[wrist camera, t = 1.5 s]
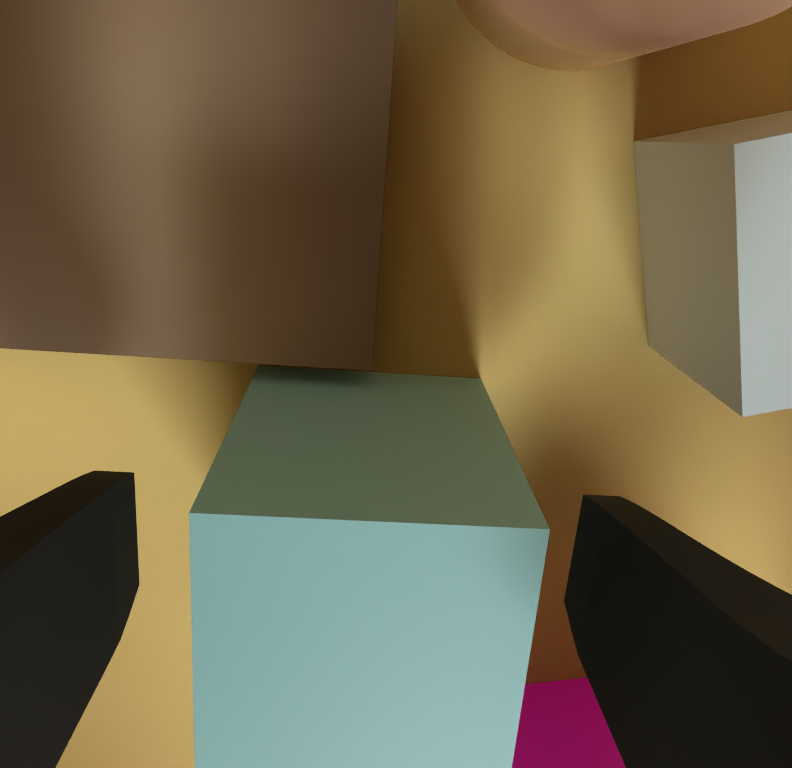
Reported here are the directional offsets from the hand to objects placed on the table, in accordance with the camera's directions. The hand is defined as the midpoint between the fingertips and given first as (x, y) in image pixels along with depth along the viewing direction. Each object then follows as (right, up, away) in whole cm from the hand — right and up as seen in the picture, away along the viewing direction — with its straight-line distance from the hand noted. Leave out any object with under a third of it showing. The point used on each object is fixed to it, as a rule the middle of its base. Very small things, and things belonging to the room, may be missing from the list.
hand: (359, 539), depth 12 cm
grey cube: (+7, +5, +2) cm, 9 cm away
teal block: (0, +1, +4) cm, 4 cm away
